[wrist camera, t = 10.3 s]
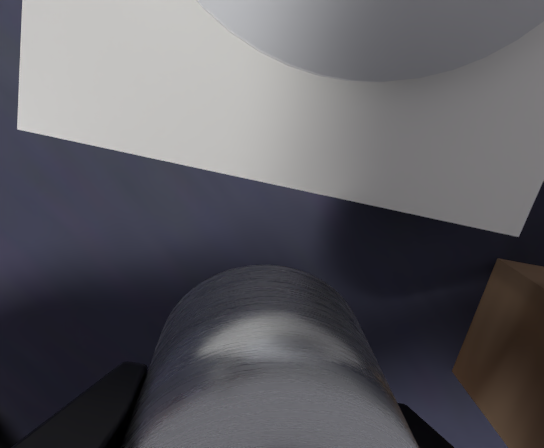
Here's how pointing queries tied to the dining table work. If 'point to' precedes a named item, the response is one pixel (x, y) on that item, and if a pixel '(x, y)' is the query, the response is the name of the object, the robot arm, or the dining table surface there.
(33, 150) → the dining table surface
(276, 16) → the kitchen scale
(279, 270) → the steel weight with knob
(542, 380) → the walnut block
